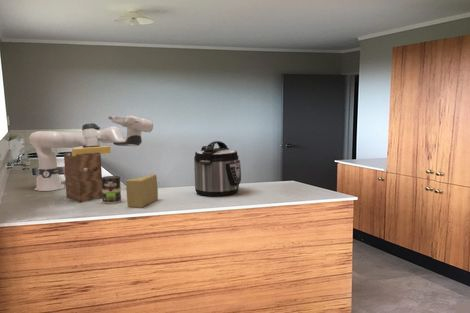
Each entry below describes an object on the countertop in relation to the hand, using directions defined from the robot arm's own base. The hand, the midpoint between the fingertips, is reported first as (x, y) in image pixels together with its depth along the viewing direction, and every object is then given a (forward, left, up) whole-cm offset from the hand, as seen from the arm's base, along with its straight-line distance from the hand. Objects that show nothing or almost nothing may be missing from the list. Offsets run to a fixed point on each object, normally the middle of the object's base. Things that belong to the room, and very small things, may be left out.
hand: (112, 117), depth 277 cm
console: (+19, -16, -47) cm, 53 cm away
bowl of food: (-49, -32, -47) cm, 75 cm away
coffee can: (+33, +1, -47) cm, 58 cm away
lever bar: (+19, -11, -21) cm, 30 cm away
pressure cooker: (+23, +63, -47) cm, 82 cm away
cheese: (+43, +20, -47) cm, 67 cm away
